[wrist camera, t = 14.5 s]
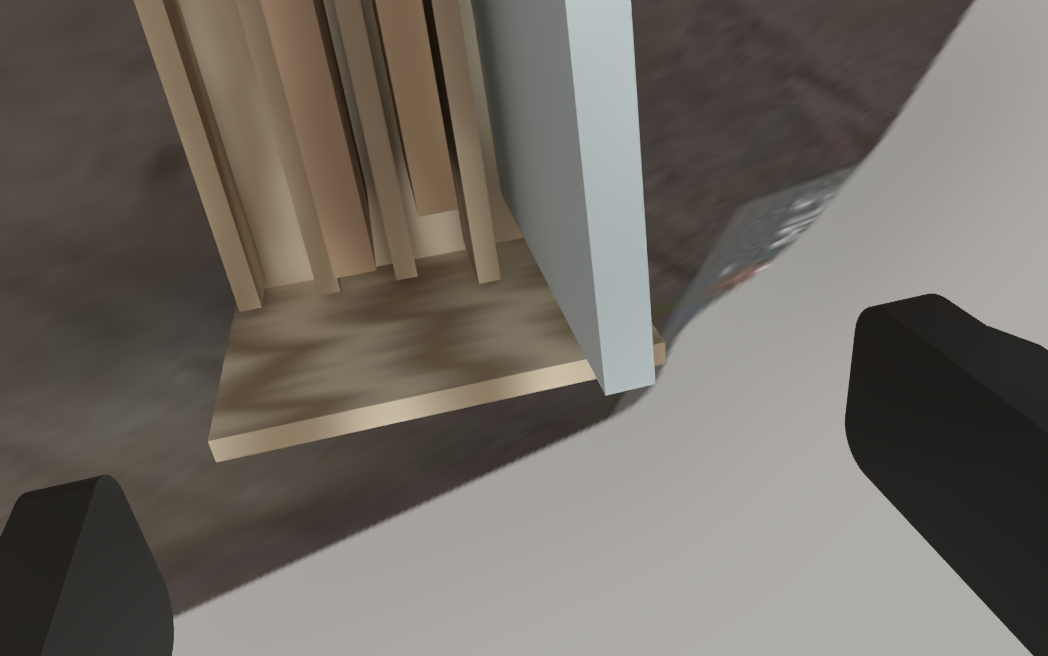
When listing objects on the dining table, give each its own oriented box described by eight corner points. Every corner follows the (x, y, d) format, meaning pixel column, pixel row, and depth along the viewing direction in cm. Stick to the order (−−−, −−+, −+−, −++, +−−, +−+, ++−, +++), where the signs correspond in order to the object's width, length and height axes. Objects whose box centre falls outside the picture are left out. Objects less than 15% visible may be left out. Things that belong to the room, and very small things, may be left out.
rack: (246, 298, 42) (216, 462, 31) (76, -214, 31) (-71, -255, 20) (578, 232, 44) (666, 363, 33) (530, -271, 33) (638, -339, 22)
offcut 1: (333, 196, 39) (334, 278, 32) (261, -86, 33) (242, -68, 25) (366, 189, 39) (376, 270, 32) (302, -92, 33) (294, -77, 26)
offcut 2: (404, 162, 39) (418, 216, 33) (357, -72, 34) (363, -57, 28) (438, 156, 39) (458, 209, 33) (396, -78, 34) (410, -64, 28)
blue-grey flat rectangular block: (500, 193, 41) (605, 395, 26) (440, -187, 33) (541, -226, 17) (532, 187, 41) (655, 383, 26) (480, -193, 33) (615, -237, 18)
